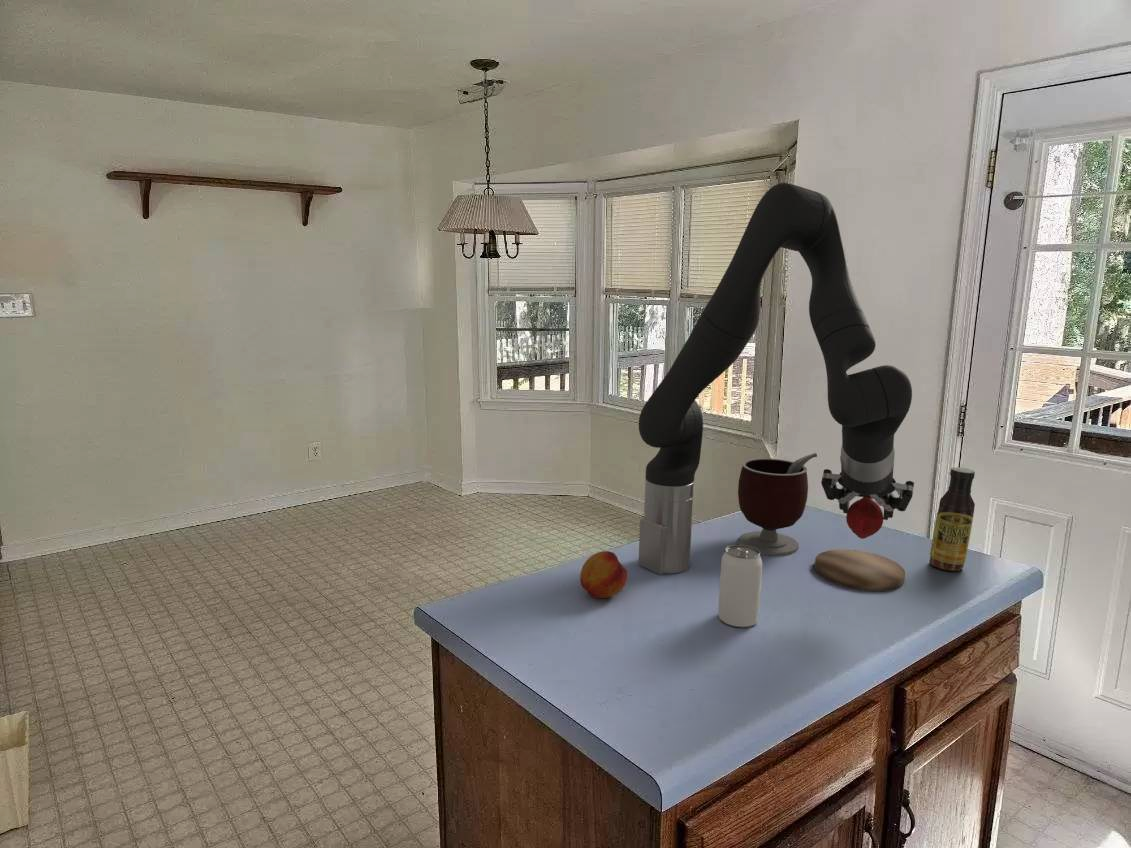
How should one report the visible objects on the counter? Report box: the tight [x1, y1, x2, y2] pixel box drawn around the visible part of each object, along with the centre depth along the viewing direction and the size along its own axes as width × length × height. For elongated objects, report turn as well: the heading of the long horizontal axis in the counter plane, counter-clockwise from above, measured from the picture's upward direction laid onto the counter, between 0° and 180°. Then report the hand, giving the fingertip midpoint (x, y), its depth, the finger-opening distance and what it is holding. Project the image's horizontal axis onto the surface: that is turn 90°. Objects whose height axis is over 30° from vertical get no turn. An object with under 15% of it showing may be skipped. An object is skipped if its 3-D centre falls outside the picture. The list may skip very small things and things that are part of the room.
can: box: [717, 544, 763, 629], centre depth 118 cm, size 6×6×12 cm
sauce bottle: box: [929, 466, 976, 572], centre depth 140 cm, size 7×6×20 cm
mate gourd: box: [737, 452, 818, 557], centre depth 151 cm, size 16×14×20 cm
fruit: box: [579, 550, 628, 599], centre depth 127 cm, size 8×8×8 cm
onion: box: [845, 497, 884, 540], centre depth 122 cm, size 6×6×8 cm
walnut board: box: [814, 549, 906, 592], centre depth 139 cm, size 16×16×2 cm
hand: (866, 511), depth 124 cm, fingers closed on onion, 5 cm apart
